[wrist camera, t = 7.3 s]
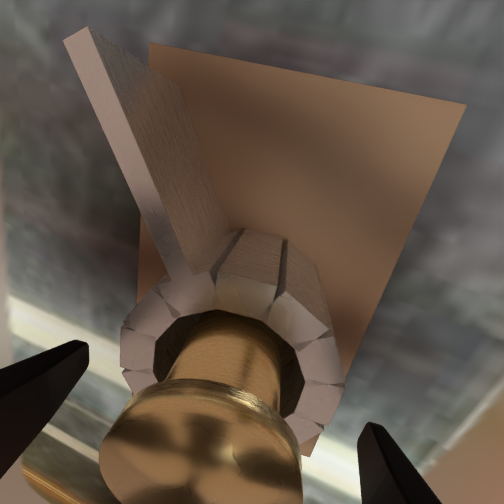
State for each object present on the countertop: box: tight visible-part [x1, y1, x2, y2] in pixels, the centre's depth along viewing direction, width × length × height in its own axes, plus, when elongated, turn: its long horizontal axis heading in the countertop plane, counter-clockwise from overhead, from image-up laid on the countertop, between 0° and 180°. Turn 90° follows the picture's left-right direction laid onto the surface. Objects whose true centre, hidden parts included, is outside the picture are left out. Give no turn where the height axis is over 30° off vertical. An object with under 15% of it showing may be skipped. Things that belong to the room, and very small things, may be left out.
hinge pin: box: [99, 309, 303, 504], centre depth 9 cm, size 5×5×8 cm
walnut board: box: [132, 42, 467, 457], centre depth 14 cm, size 20×12×1 cm, turn 168°
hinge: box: [63, 27, 346, 445], centre depth 11 cm, size 19×9×5 cm, turn 168°
